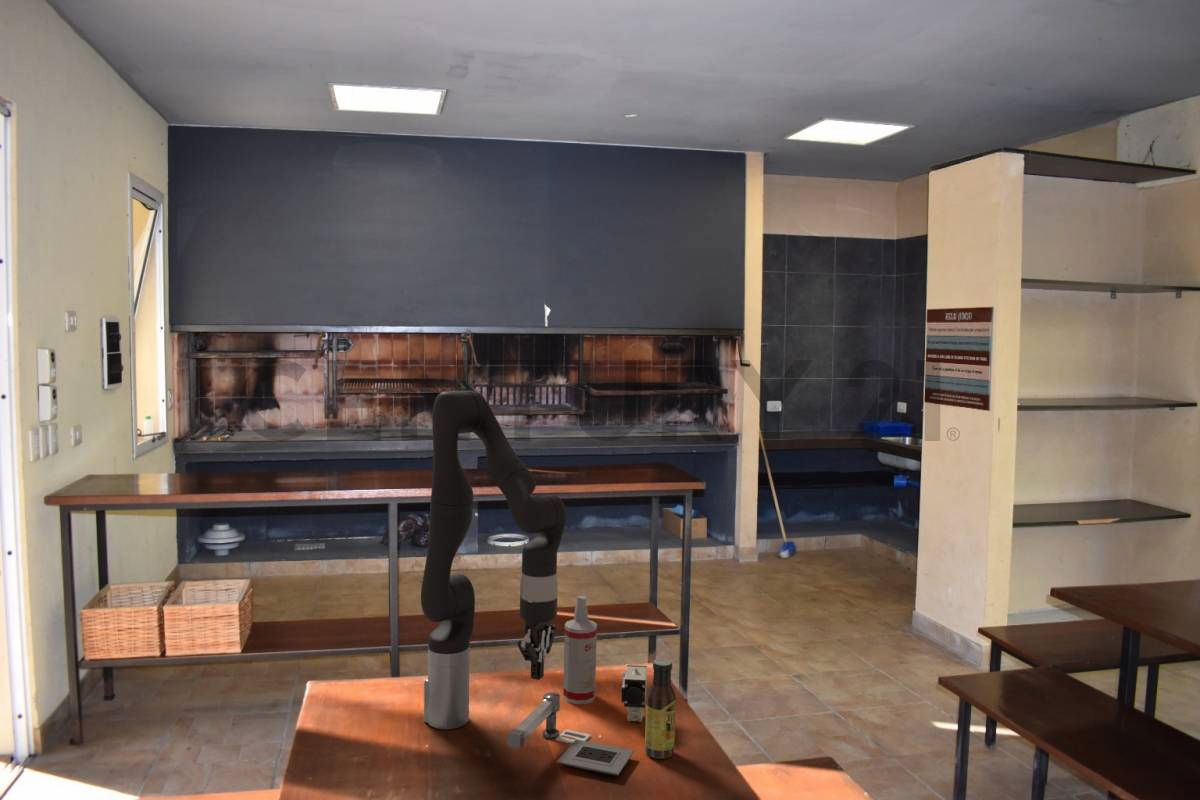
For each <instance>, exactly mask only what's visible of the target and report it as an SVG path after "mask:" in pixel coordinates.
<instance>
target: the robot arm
mask: <svg viewBox="0 0 1200 800" xmlns="http://www.w3.org/2000/svg"><path fill="white" fill-rule="evenodd" d="M431 417H432V419H431V421H432V422H431V423H432V424H431V425H432V451H433V454H432V455H433V457H432V465H433V466H432V481H431V493H430V502H429V503H430V505H429V506H430V508H429V528H428V539H427V540H428V541H427V550H426V551H427V552H426V558H425V566H424V569H423V576H422V582H421V590H420V606H421V609H422V613H423V615H424V616H425V617H426V619H427V620H428V621H429V622H432V623H440V624H439V625H438V626H437V627H436V628H435V629H433V631H431V632H430V634H429V636H428V639H427V640H428V642H427V647H428V648H427V649H428V651H427V654H428V655H427V660H428V661H427V679H424V682H423V722H425V723H427V724H428V725H429V726H431V727H432V728H434V729H438V730H452V729H458V728H461V727H463V726H465V725H466V724H467V723H469V720H470V663H471V662H470V661H471V660H470V656H471V655H470V653H471V652H470V651H471V650H470V649H471V645H470V644H471V639H472V636H473V633H474V626H475V625H474V624H475V623H474V622H475V621H474V620H475V609H476V596H475V589H474V587H473V583H472V582H471V580H470V579H469V577H468V576H466V575H464V574H462V573H455V574H451V573H452V567H453V562H454V560H455V556H456V554H457V552H458V550H459V549H460V547H461V545H462V543H463V541H464V539H465V537H467V534H468V532H469V529H470V527H471V524H472V520H473V511H474V510H473V509H474V508H473V507H474V490H473V487H472V484H471V482H470V480H469V478H468V476H467V474H466V473H465V471H464V468H463V467H462V464H461V462H460V459H459V454H458V453H459V452H458V450H459V448H458V446H459V445H458V444H459V443H458V441H459V440H458V439H459V435H460V434H470V433H473V434H475V435H476V436H477V437H478V438H479V439H480V440H481V442H482V443H483V445H484V448H485V460H486V468H487V472H488V474H489V477H490V478H491V479H492V481H493V482H494V483H495V485H496V486H497V488H498V489H499V490H500V492H501V493H502V494H503V495H504V497H505V499H506V503H507V505H508V508H509V510H510V514H511V517H512V520H513V522H514V524H515V525H516V526H517V528H519V530H521V531H522V532H524V533H525V534H536V536H535V537H534V539H533V540H531V541H529V542H527V543H526V544H524V546H523V548H522V552H521V577H520V582H519V583H520V584H519V585H520V586H519V588H520V589H519V616H520V619H522V621H524V622H525V626H524V630H523V633H524V638H523V640H518V642H517V647H518V649H519V652H520V653H521V655H522V657H523V659H524V661H529V662H530V678H531V679H533V680H537V681H539V680H541V679H542V678H544V674H545V673H544V672H545V660H546V657H547V655H549V654H550V652H551V650H552V646H553V643H554V639H555V637H556V634H557V630H558V626H557V625H554V624H552V623H553V622H552V621H554V620H555V619H557V616H558V592H559V591H558V589H559V588H558V587H559V586H558V585H559V584H558V573H557V572H558V570H557V569H558V551H559V547H560V544H561V542H562V537H563V534H564V530H565V527H566V523H567V522H566V521H567V511H566V506H565V503H564V502H563V500H562V498H561V497H560V496H558V495H556V494H545V495H544V494H543V495H537V496H533V497H532V494H533V493H534V491H535V489H536V487H537V482H536V479H535V477H534V476H533V474H532V472H531V471H530V470H529V469H528V467H527V466H526V465H525V463H524V462H523V461H522V460H521V458H520V457H519V456H518V455H517V453H516V452H515V450H514V449H513V448H512V445H511V444H510V442H509V440H508V439H507V437H506V435H505V433H504V430H503V428H502V427H501V426H500V423H499V422H498V420H497V417H496V416H495V414H494V412H493V410H492V408H491V406H490V405H489V402H488V401H487V399H486V398H485V397H484V396H483V395H482V394H481V393H480V392H478V391H475V390H453V391H452V390H451V391H450V390H449V391H443V392H440V393H439V394H438V395H437V396H436V398H435V399H434V402H433V406H432V415H431Z"/></svg>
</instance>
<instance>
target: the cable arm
mask: <svg viewBox="0 0 1200 800" xmlns="http://www.w3.org/2000/svg"><path fill="white" fill-rule="evenodd" d="M560 698H561V697H560V694H559V693H558V692H546V693H544V694H543V700H542V701H541V702H540V703H539V704H538V705H537V706H536V707H535V708H534V709H533V710H531V712H530V713H529V714H528V715H527V717H525V718H524V719H523V720H522V721H521V722H520V723H519V724H518V725H517V726H516V727H515V728H512V729H510V731H509V732H508V734H507V747H509V748H515V749H519V750H521V748H522V747H523V746H524V745H525V742H526V741H527V740H528V738H529V737H530V736H531V735H532V734H533V733H534V732H535V731H536V730H537V729H538V727H540V726H541V725H542V724H543V722H545V721H546V718H547V717H548V716H549V715H550V714H551V713H554V712H556V713H557V712H559V711H560V709H561V707H560V703H561V699H560Z"/></svg>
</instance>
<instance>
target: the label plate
mask: <svg viewBox="0 0 1200 800" xmlns="http://www.w3.org/2000/svg"><path fill="white" fill-rule="evenodd" d="M591 736H592V734H589V733H585V732H580V731H576V730H571V729H567V728H566V729H564V731H563V732H562V733H559V736H558V737H557V738H556V739H555V741H557V742H561V743H565V744H567V743H568V744H570V745H571V744H572V743H573V742H574V741H575V739H577V740H582V741H588V740H589V739H590V738H591Z"/></svg>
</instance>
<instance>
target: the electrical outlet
mask: <svg viewBox="0 0 1200 800" xmlns="http://www.w3.org/2000/svg"><path fill="white" fill-rule="evenodd" d="M634 752H635V750H634V749H628V748H625V747H617V746H615V745H614V746H613V745H607V744H602V743H598V742H593V741H588V740H587V741H582V740H577V739H575V741H574V742H573V743H572V744H570V746H569V747H568V748H567V749H566V750H565V751H564V753H562V755H561V756H560V757H559V758H558V760H557V761H556V764H557V765H560V766H563V767H569V768H574V769H578V770H584V771H590V772H592V773H593V772H594V773H598V774H603V775H608V776H609V775H610V776H614V777H618V776H619V775H620V773H622V770H623V768H624V767H625V766H626V765H627V763H628V762H629V760H630V759H631V757H632V755H633V754H634Z"/></svg>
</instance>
